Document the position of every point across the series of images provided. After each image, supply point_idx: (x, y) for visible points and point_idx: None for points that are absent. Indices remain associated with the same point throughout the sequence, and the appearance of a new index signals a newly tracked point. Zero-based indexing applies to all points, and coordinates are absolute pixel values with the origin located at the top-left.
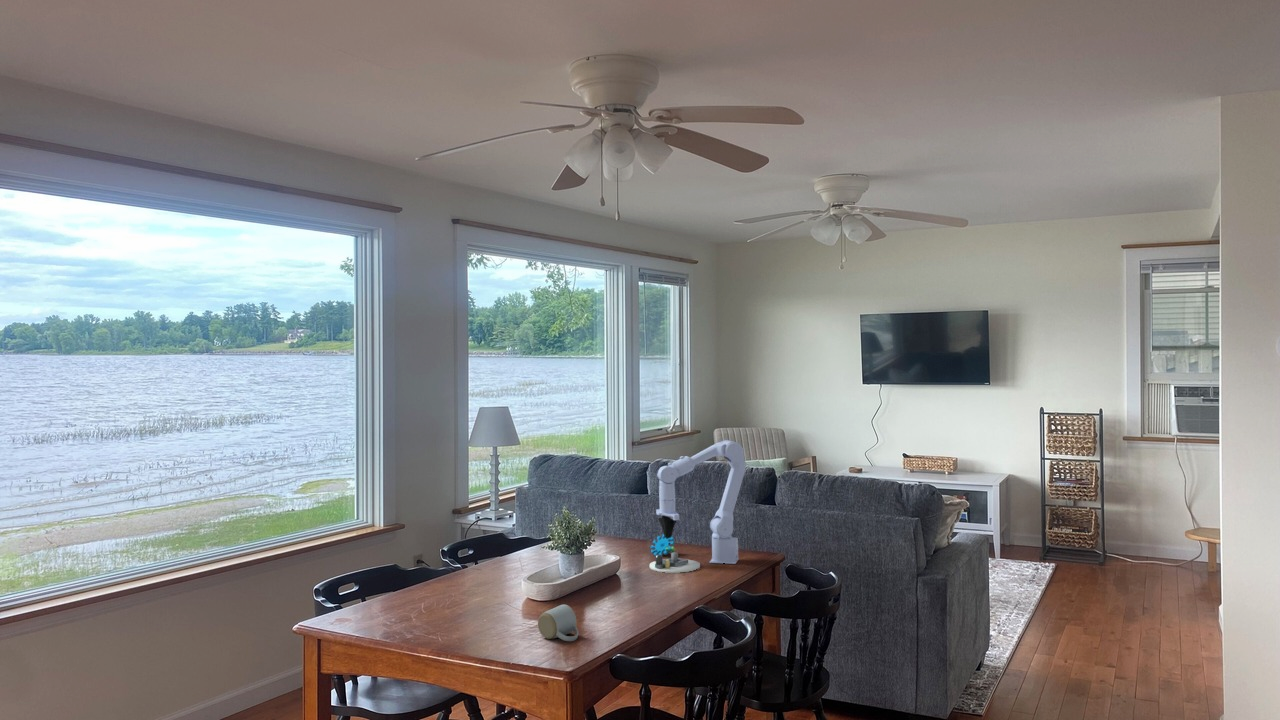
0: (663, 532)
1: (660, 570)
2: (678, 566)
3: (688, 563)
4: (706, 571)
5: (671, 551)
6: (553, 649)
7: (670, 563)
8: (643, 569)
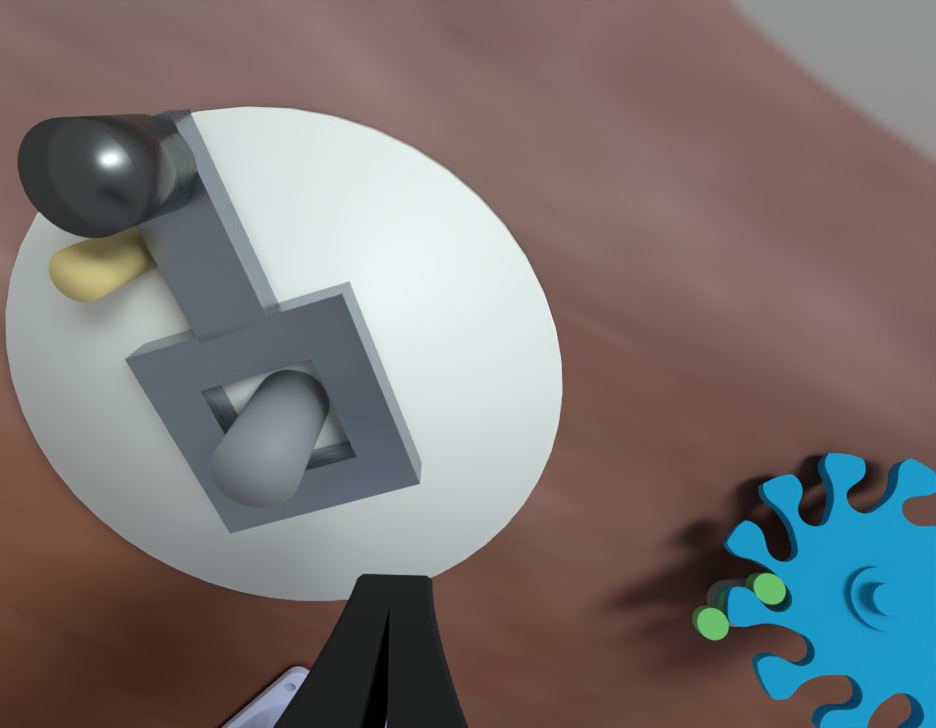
0: (432, 642)
1: None
2: None
3: None
4: (28, 529)
5: (720, 590)
6: None
7: (202, 332)
8: (372, 28)
